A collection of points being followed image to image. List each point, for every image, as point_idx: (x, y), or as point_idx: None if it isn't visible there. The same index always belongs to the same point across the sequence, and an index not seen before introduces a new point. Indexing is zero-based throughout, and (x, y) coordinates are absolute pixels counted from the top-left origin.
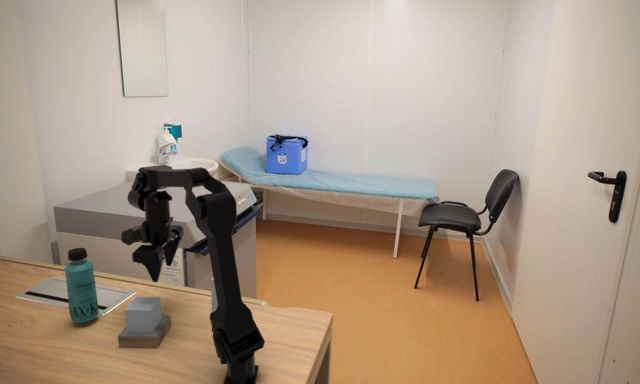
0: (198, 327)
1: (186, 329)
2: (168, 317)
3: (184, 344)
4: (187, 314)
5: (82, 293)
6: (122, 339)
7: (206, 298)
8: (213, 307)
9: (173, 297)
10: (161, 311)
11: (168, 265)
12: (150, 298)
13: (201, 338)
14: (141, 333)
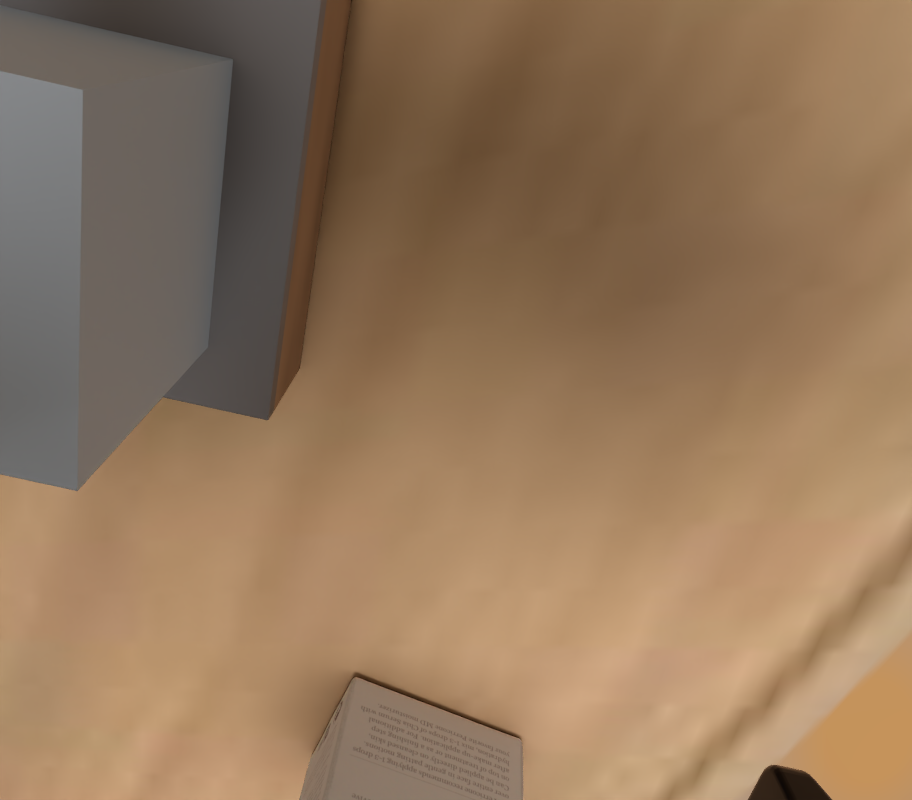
0: (255, 580)
1: (232, 496)
2: (228, 407)
3: (20, 492)
4: (485, 492)
5: None
6: None
7: (751, 636)
8: (324, 783)
9: (904, 336)
10: (167, 386)
11: (759, 796)
12: (30, 356)
13: (101, 601)
14: None
